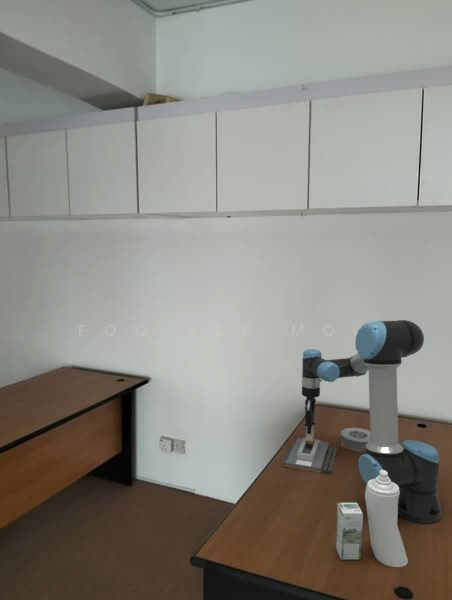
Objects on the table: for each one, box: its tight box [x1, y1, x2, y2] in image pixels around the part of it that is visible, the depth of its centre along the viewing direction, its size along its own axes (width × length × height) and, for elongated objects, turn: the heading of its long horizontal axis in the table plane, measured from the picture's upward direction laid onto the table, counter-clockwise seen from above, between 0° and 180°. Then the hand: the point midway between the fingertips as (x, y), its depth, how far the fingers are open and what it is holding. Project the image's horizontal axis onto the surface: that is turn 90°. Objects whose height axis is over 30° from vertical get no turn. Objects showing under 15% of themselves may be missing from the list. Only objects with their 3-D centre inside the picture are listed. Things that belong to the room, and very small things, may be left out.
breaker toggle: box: [306, 428, 315, 449], centre depth 199 cm, size 3×3×8 cm
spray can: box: [364, 470, 409, 568], centre depth 131 cm, size 12×11×25 cm
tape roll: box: [340, 427, 370, 451], centre depth 207 cm, size 15×15×5 cm
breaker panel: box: [281, 437, 338, 475], centre depth 194 cm, size 26×20×4 cm
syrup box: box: [335, 502, 364, 561], centre depth 132 cm, size 6×6×14 cm
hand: (309, 439), depth 196 cm, fingers closed
